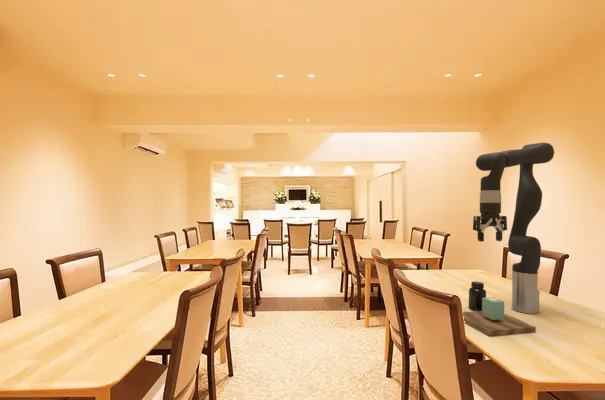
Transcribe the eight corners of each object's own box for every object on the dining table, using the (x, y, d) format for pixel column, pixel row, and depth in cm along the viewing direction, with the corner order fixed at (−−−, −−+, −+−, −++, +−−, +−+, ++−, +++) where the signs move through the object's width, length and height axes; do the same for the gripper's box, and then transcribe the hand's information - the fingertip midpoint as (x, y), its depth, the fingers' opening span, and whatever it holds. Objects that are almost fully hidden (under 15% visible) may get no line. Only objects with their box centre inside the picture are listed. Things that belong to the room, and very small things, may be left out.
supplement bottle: (488, 312, 133) (488, 285, 133) (471, 311, 134) (471, 284, 134) (482, 307, 140) (482, 281, 140) (466, 306, 141) (466, 280, 141)
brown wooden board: (495, 314, 131) (495, 293, 131) (535, 332, 113) (535, 308, 113) (454, 317, 127) (454, 296, 127) (489, 336, 109) (489, 312, 109)
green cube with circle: (493, 314, 123) (493, 296, 123) (504, 319, 118) (504, 300, 118) (482, 314, 122) (482, 297, 122) (492, 319, 117) (492, 301, 117)
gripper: (497, 201, 131) (497, 239, 131) (468, 201, 128) (468, 240, 128) (512, 201, 123) (512, 242, 123) (482, 201, 120) (482, 242, 120)
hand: (489, 241), depth 126 cm, fingers open, 8 cm apart
